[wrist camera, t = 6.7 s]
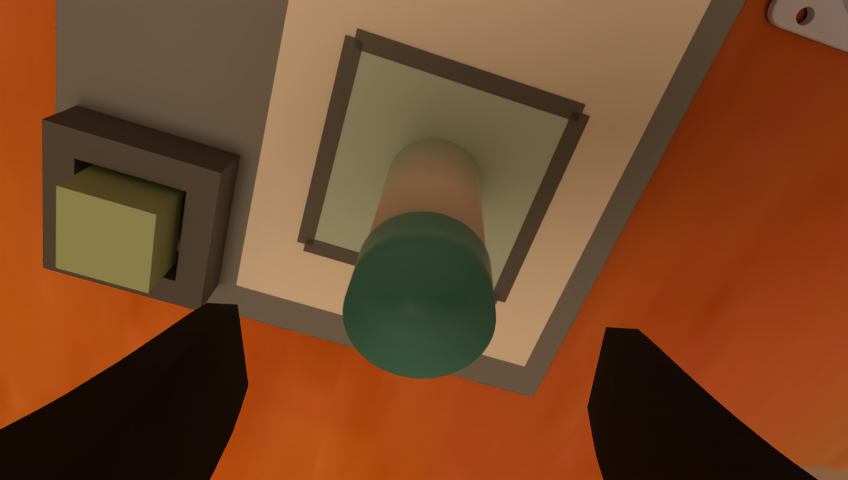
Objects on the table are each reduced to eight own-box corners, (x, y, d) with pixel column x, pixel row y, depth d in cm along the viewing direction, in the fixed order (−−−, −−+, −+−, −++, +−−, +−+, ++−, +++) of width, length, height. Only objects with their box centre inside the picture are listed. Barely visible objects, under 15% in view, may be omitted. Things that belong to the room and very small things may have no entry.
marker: (485, 137, 19) (501, 254, 12) (479, 228, 20) (491, 381, 13) (383, 135, 19) (337, 249, 12) (385, 226, 20) (347, 375, 13)
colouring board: (764, -60, 17) (814, -62, 14) (530, 384, 25) (538, 429, 22) (77, -319, 15) (6, -371, 12) (67, 255, 23) (23, 289, 20)
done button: (184, 190, 19) (156, 214, 17) (175, 263, 20) (148, 293, 18) (94, 163, 19) (56, 185, 17) (91, 239, 20) (55, 267, 18)
